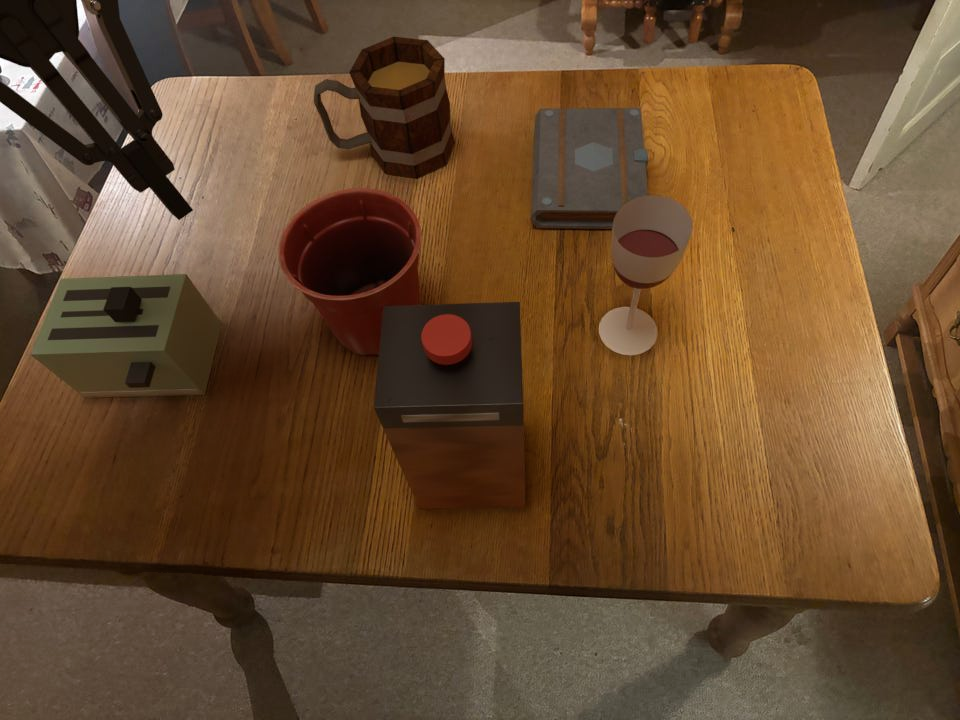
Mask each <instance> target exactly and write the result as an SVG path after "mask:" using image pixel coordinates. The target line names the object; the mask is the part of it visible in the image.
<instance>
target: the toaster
mask: <svg viewBox="0 0 960 720" xmlns="http://www.w3.org/2000/svg"><path fill="white" fill-rule="evenodd" d="M111 287H132V289H133V290H134V291H135V292H136V293H137V294H138V296H139V297H140V298H141V299H142V301H141V304H140V307H139V310H138V313H137V316H136V319H135V321H134V322H115V321H114V320H113V319H112V318H111V317H110V316H109V315H108V314H107V313H106V312H105V311H104V310H103V309H104V306H105V303H106V300H107V298H108V295H109V292H110V289H111ZM222 325H223V323H222V322H221V320H220V319H219V317H218V316H217V315H216V313H215V312H214V310H213V309H212V307H211V306H210V305H209V303H208V302H207V301H206V299H205V298H204V296H203V295H202V294H201V292H200V291H199V289H198V288H197V287H196V285H195V284H194V283H193V281H192V280H191V279H190V277H189V276H188V274H186V273H178V274H177V273H176V274H175V273H174V274H173V273H172V274H151V275H150V274H149V275H148V274H147V275H125V276H97V277H95V276H93V277H69V278H68V277H67V278H60V279H59V282H58V285H57V286H56V290H55V292H54V295H53V297H52V299H51V302H50V305H49V307H48V310H47V312H46V314H45V317H44V319H43V322H42V324H41V326H40V328H39V332H38V334H37V336H36V339H35V340H34V343H33V346H32V348H31V351H30V353H29V355H30V356H31V357H32V358H33V359H35V360H36V361H37V362H39V363H40V364H41V365H42V366H44V367H45V369H48V370H49V371H50V372H51V373H53V374H54V375H55V376H56V377H57V378H58V379H60V380H61V381H63V382H64V383H66V385H68V387H70V388H72V389H73V390H74V391H76V393H78V394H79V395H80V396H82V397H83V398H85V399H90V398H91V399H93V398H127V397H128V398H130V397H133V398H134V397H166V396H167V397H169V396H203V395H204V396H205V395H206V391H207V387H208V382H209V378H210V375H211V370H212V365H213V362H214V359H215V355H216V350H217V345H218V343H219V342H218V341H219V337H220V333H221V328H222Z"/></svg>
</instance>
